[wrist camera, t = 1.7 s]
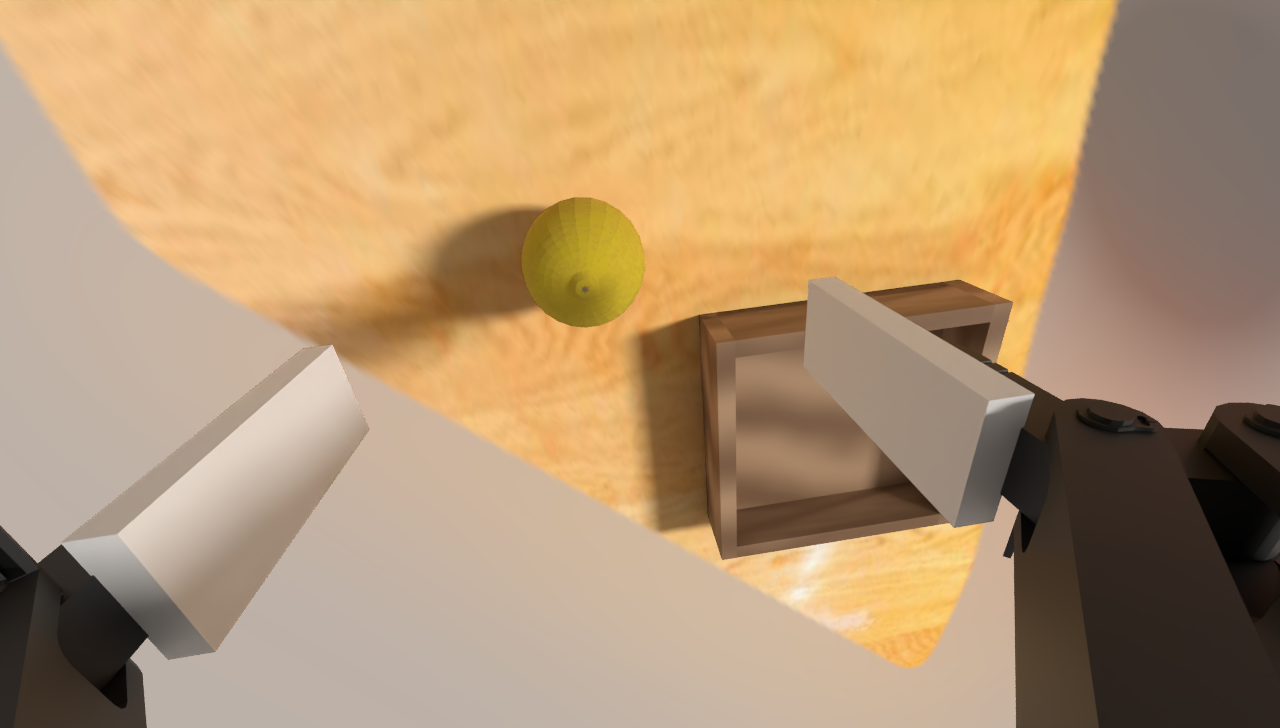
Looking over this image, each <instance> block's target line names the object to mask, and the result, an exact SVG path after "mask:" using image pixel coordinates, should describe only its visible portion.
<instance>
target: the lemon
mask: <svg viewBox="0 0 1280 728" xmlns="http://www.w3.org/2000/svg"><path fill="white" fill-rule="evenodd" d="M522 272H523V276H524V280H525V283H526V287H527V289H528V291H529V292H530V294H531V296H532V297H533V299H534V301H535V302H536V303H537V305H538V306H539V307H540V308H541V309H542V310H543V311H544V312H545V313H546V314H548V315H549V316H551V317H552V318H554V319H555V320H557V321H559V322H562V323H565V324H567V325H570V326H577V327H592V326H599V325H602V324H605V323H607V322H610V321H612V320H614V319H615V318H617V317H618V316H620V315H621V314H622V313H624V312H625V310H626V309H627V308H628V307H629V306H630V305H631V304H632V302H633V301H634V299H635V297H636V295H637V294H638V292H639V290H640V288H641V285H642V280H643V276H644V272H645V259H644V250H643V247H642V243H641V240H640V236H639V235H638V233H637V231H636V230H635V228H634V226H633V224H632V223H631V221H630V220H629V219H628V218H627V217H626V216H625V215H624V214H623V213H622V212H621V211H620V210H618V209H616V208H615V207H613V206H611V205H609V204H608V203H606V202H603V201H600V200H597V199H593V198H571V199H567V200H563V201H560V202H558V203H556V204H554V205H552V206H551V207H549V208H547V209H545V210H544V211H543V212H542V213H541V214H540V215H539V216H538V217H537V218H536V219H535V220H534V222H533V224H532V226H531V227H530V229H529V231H528V233H527V234H526V237H525V241H524V245H523V249H522Z"/></svg>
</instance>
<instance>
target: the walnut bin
mask: <svg viewBox="0 0 1280 728" xmlns="http://www.w3.org/2000/svg"><path fill="white" fill-rule="evenodd" d="M864 294H866V295H867V296H869V297H871V298H872V299H874V300H876V301H877V302H879V303H881V304H883V305H884V306H886V307H888V308H889V309H891V310H893V311H894V312H896V313H898V314H900V315H901V316H903V317H905V318H906V319H908V320H910V321H912V322H913V323H915V324H917V325H918V326H920V327H922V328H923V329H925V330H927V331H929V332H930V333H932V334H934V335H935V336H937V337H939V338H940V339H942V340H944V341H948V342H951V343H954V344H957V345H960V346H963V347H966V348H969V349H972V350H974V351H976V352H978V353H979V354H981V355H983V356H985V357H987V358H988V359H990V360H992V363H996V362H997V358H998V354H999V351H1000V347H1001V344H1002V340H1003V337H1004V333H1005V329H1006V326H1007V322H1008V319H1009V315H1010V312H1011V308H1012V304H1013V302H1012V301H1009V300H1007V299H1004V298H1002V297H1000V296H997V295H995V294H992V293H990V292H988V291H985V290H983V289H980V288H978V287H976V286H973V285H971V284H968V283H966V282H964V281H961V280H955V281H948V282H940V283H933V284H926V285H918V286H911V287H903V288H896V289H889V290H881V291H874V292H866V293H864ZM807 301H808V300H807ZM807 301H800V302H792V303H785V304H777V305H770V306H763V307H755V308H748V309H740V310H733V311H726V312H718V313H711V314H703V315H699V326H700V348H701V371H702V393H703V416H704V438H705V461H706V483H707V506H708V518H709V521H710V524H711V527H712V530H713V533H714V536H715V539H716V542H717V545H718V549H719V552H720V555H721V558H722V560H724V559H731V558H737V557H743V556H749V555H755V554H761V553H767V552H774V551H780V550H786V549H792V548H798V547H804V546H810V545H816V544H823V543H829V542H835V541H841V540H847V539H853V538H859V537H866V536H872V535H878V534H884V533H890V532H896V531H902V530H909V529H915V528H921V527H927V526H933V525H939V524H945V523H949V522H948V521H947V520H946V519H945V518H944V517H943V515H942V514H941V513H940V512H939V511H938V510H937V509H936V508H935V507H934V506H933V505H932V504H931V503H930V502H929V500H928V499H927V498H926V497H925V496H924V495H923V494H922V493H921V492H920V491H919V490H918V489H917V488H916V487H915V485H914V484H913V483H912V482H911V481H910V480H909V479H908V478H907V477H906V476H905V475H904V474H903V473H902V472H901V470H900V469H899V468H898V467H897V466H896V465H895V464H894V463H893V462H892V461H891V460H890V459H889V458H888V457H887V455H886V454H885V453H884V452H883V451H882V450H881V449H880V448H879V447H878V446H877V445H876V444H875V443H874V442H873V440H872V439H871V438H870V437H869V436H868V435H867V434H866V433H865V432H864V431H863V430H862V429H861V428H860V427H859V425H858V424H857V423H856V422H855V421H854V420H853V419H852V418H851V417H850V416H849V415H848V414H847V413H846V412H845V410H844V409H843V408H842V407H841V406H840V405H839V404H838V403H837V402H836V401H835V400H834V399H833V398H832V397H831V395H830V394H829V393H828V392H827V391H826V390H825V389H824V388H823V387H822V386H821V385H820V384H819V383H818V382H817V380H816V379H815V378H814V377H813V376H812V375H811V374H810V373H809V372H808V371H807V370H806V369H805V368H804V367H803V364H804V348H805V332H806V317H807Z"/></svg>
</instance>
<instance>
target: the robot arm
mask: <svg viewBox="0 0 1280 728" xmlns="http://www.w3.org/2000/svg"><path fill="white" fill-rule="evenodd" d="M803 367H804V368H805V369H806V370H807V371H808V372H809V373H810V374H811V375H812V376H813V377H814V378H815V379H816V380H817V382H818V383H819V384H820V385H821V386H822V387H823V388H824V389H825V390H826V391H827V392H828V393H829V394H830V395H831V397H832V398H833V399H834V400H835V401H836V402H837V403H838V404H839V405H840V406H841V407H842V408H843V409H844V410H845V412H846V413H847V414H848V415H849V416H850V417H851V418H852V419H853V420H854V421H855V422H856V423H857V424H858V425H859V427H860V428H861V429H862V430H863V431H864V432H865V433H866V434H867V435H868V436H869V437H870V438H871V439H872V440H873V442H874V443H875V444H876V445H877V446H878V447H879V448H880V449H881V450H882V451H883V452H884V453H885V454H886V455H887V457H888V458H889V459H890V460H891V461H892V462H893V463H894V464H895V465H896V466H897V467H898V468H899V469H900V470H901V472H902V473H903V474H904V475H905V476H906V477H907V478H908V479H909V480H910V481H911V482H912V483H913V484H914V485H915V487H916V488H917V489H918V490H919V491H920V492H921V493H922V494H923V495H924V496H925V497H926V498H927V499H928V500H929V502H930V503H931V504H932V505H933V506H934V507H935V508H936V509H937V510H938V511H939V512H940V513H941V514H942V515H943V517H944V518H945V519H946V520H947V521H948V522H949V523H950V524H951V525H952V526H953V527H954V528H956V527H962V526H968V525H974V524H980V523H986V522H991V521H994V518H995V515H996V512H997V508H998V505H999V502H1000V499H1001V496H1002V495H1003V496H1004V497H1005V498H1006V499H1007V500H1008V501H1009V502H1011V503H1012V504H1013V505H1014V506H1015V507H1016V508H1017V509H1019V512H1018V515H1017V518H1016V520H1015V523H1014V526H1013V529H1012V532H1011V535H1010V537H1009V540H1008V543H1007V546H1006V549H1005V552H1004V555H1003V556H1005V557H1008V558H1011V556H1012V554H1013V552H1014V596H1015V665H1016V667H1015V670H1016V728H1280V406H1276V405H1271V404H1267V405H1261V404H1254V403H1227V404H1223V405H1219V406H1216V408H1215V410H1214V412H1213V414H1212V416H1211V418H1210V420H1209V421H1208V423H1207V425H1206V427H1205V429H1204V430H1200V429H1199V430H1198V429H1177V428H1164V427H1163V426H1162V425H1161V424H1160V423H1159V422H1158V421H1156V420H1155V419H1153V418H1151V417H1150V416H1148V415H1146V414H1145V413H1143V412H1140V411H1138V410H1135V409H1132V408H1130V407H1127V406H1124V405H1121V404H1117V403H1112V402H1108V401H1103V400H1096V399H1085V398H1080V399H1068V400H1065V401H1062V400H1061V399H1059V398H1057V397H1055V396H1053V395H1051V394H1050V393H1048V392H1046V391H1045V390H1043V389H1041V388H1039V387H1038V386H1036V385H1034V384H1032V383H1030V382H1029V381H1027V380H1025V379H1024V378H1022V377H1020V376H1018V375H1016V374H1015V373H1013V372H1008V369H1006V368H1004V367H1002V366H1001V365H999V364H997V363H992V360H990V359H988V358H987V357H985V356H983V355H981V354H979V353H978V352H976V351H974V350H972V349H969V348H966V347H963V346H960V345H957V344H954V343H951V342H948V341H944V340H942V339H940V338H939V337H937V336H935V335H934V334H932V333H930V332H929V331H927V330H925V329H923V328H922V327H920V326H918V325H917V324H915V323H913V322H912V321H910V320H908V319H906V318H905V317H903V316H901V315H900V314H898V313H896V312H894V311H893V310H891V309H889V308H888V307H886V306H884V305H883V304H881V303H879V302H877V301H876V300H874V299H872V298H871V297H869V296H867V295H866V294H864V293H862V292H860V291H859V290H857V289H855V288H854V287H852V286H850V285H848V284H847V283H845V282H843V281H842V280H840V279H838V278H837V277H828V278H821V279H814V280H809V285H808V301H807V317H806V332H805V348H804V364H803ZM368 431H369V427H368V425H367V423H366V420H365V418H364V416H363V413H362V411H361V409H360V407H359V404H358V402H357V400H356V397H355V395H354V393H353V390H352V388H351V386H350V384H349V381H348V379H347V377H346V375H345V372H344V370H343V368H342V365H341V363H340V361H339V358H338V356H337V354H336V352H335V349H334V347H333V345H325V346H317V347H310V348H303V349H302V350H300V351H299V352H298V353H297V354H295V355H294V356H293V357H292V358H290V359H289V360H288V361H287V362H285V363H284V364H283V365H282V366H281V367H279V368H278V369H277V370H275V371H274V372H273V373H272V374H270V375H269V376H268V377H267V378H265V379H264V380H263V381H262V382H260V383H259V384H258V385H257V386H255V387H254V388H253V389H252V390H250V391H249V392H248V393H247V394H245V395H244V396H243V397H242V398H241V399H239V400H238V401H237V402H236V403H234V404H233V405H232V406H231V407H229V408H228V409H227V410H226V411H224V412H223V413H222V414H221V415H219V416H218V417H217V418H216V419H214V420H213V421H212V422H211V423H209V424H208V425H207V426H206V427H204V428H203V429H202V430H201V431H199V432H198V433H197V434H196V435H194V436H193V437H192V438H191V439H190V440H188V441H187V442H186V443H184V444H183V445H182V446H181V447H180V448H178V449H177V450H176V451H175V452H173V453H172V454H171V455H169V456H168V457H167V458H166V459H164V460H163V461H162V462H161V463H159V464H158V465H157V466H156V467H154V468H153V469H152V470H151V471H150V472H148V473H147V474H146V475H145V476H143V477H142V478H141V479H140V480H138V481H137V482H136V483H135V484H133V485H132V486H131V487H130V488H128V489H127V490H126V491H125V492H123V493H122V494H121V495H120V496H118V497H117V498H116V499H115V500H113V501H112V502H111V503H110V504H108V505H107V506H106V507H105V508H103V509H102V510H101V511H100V512H98V513H97V514H96V515H95V516H93V517H92V518H91V519H90V520H88V521H87V522H86V523H85V524H83V525H82V526H81V527H80V528H78V529H77V530H76V531H75V532H74V533H72V534H71V535H70V536H68V537H67V538H66V539H65V540H63V541H62V542H61V545H60V546H59V547H58V548H57V549H55V550H54V551H53V552H52V553H50V554H49V555H48V556H47V557H45V558H44V559H43V560H42V561H41V562H39V563H38V564H37V563H36V561H35V560H34V559H33V558H32V557H31V556H30V555H29V554H28V553H27V552H26V551H25V550H24V549H23V548H22V547H21V546H20V545H19V544H18V543H17V542H16V541H15V540H14V539H13V538H12V537H11V536H10V535H9V534H8V533H7V532H6V531H5V530H4V529H3V528H2V527H1V526H0V728H147V726H146V715H145V702H144V688H143V675H142V672H141V670H140V669H139V667H138V666H137V665H136V664H135V663H134V662H133V661H132V660H131V659H130V657H131V656H132V655H133V654H134V652H135V651H136V650H137V649H138V648H139V646H140V645H141V644H142V643H143V642H144V641H145V639H146V638H148V639H149V640H150V641H151V642H152V643H153V644H154V645H155V646H156V647H157V648H158V650H160V652H161V653H162V654H163V655H164V656H165V657H166V658H167V659H168V660H170V659H176V658H181V657H187V656H194V655H200V654H205V653H211V652H215V651H216V650H217V649H218V647H219V646H220V644H221V643H222V641H223V640H224V638H225V637H226V636H227V634H228V633H229V631H230V630H231V628H232V627H233V625H234V624H235V623H236V621H237V620H238V618H239V617H240V615H241V614H242V613H243V611H244V610H245V608H246V607H247V605H248V604H249V602H250V601H251V599H252V598H253V597H254V595H255V594H256V592H257V591H258V589H259V588H260V586H261V585H262V584H263V582H264V581H265V579H266V578H267V577H268V575H269V574H270V572H271V571H272V569H273V568H274V566H275V565H276V563H277V562H278V561H279V559H280V558H281V556H282V555H283V553H284V552H285V551H286V549H287V547H288V546H289V545H290V543H291V542H292V540H293V539H294V538H295V536H296V535H297V533H298V532H299V530H300V529H301V527H302V526H303V524H304V523H305V522H306V520H307V519H308V517H309V516H310V514H311V513H312V512H313V510H314V509H315V507H316V506H317V504H318V503H319V502H320V500H321V498H322V497H323V496H324V494H325V493H326V491H327V490H328V489H329V487H330V486H331V484H332V483H333V481H334V480H335V478H336V477H337V476H338V474H339V473H340V471H341V470H342V468H343V467H344V465H345V464H346V463H347V461H348V460H349V458H350V457H351V455H352V454H353V453H354V451H355V450H356V448H357V447H358V445H359V444H360V442H361V441H362V440H363V438H364V436H365V435H366V434H367V432H368Z"/></svg>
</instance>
